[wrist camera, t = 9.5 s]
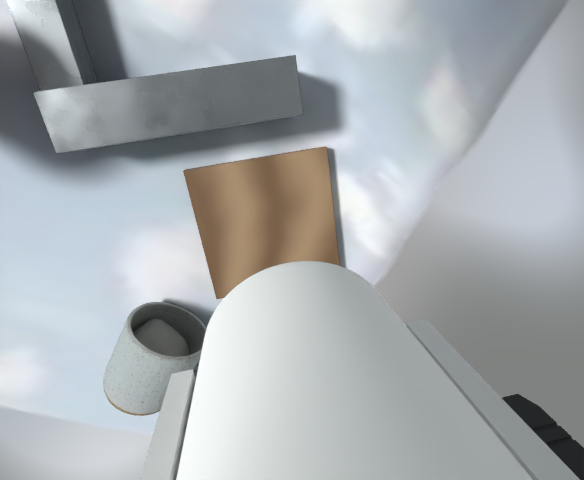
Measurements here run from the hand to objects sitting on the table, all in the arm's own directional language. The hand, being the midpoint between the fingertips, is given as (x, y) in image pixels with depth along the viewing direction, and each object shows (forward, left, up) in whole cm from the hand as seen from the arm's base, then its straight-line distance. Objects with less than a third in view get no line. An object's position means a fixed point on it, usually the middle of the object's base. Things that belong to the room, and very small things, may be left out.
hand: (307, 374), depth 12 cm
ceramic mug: (-12, -11, -21) cm, 27 cm away
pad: (0, 0, -21) cm, 21 cm away
